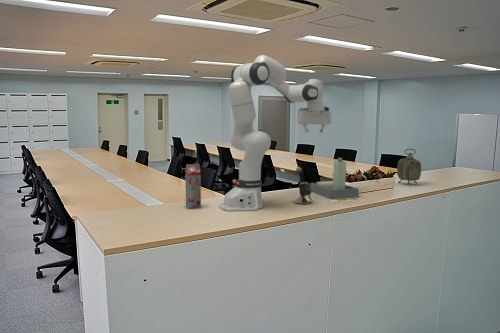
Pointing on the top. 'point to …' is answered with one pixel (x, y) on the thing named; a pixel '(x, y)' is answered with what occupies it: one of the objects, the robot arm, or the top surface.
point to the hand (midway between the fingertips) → (313, 132)
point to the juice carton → (193, 186)
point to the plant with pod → (303, 190)
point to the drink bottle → (339, 174)
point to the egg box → (326, 184)
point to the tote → (335, 192)
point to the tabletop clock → (409, 168)
